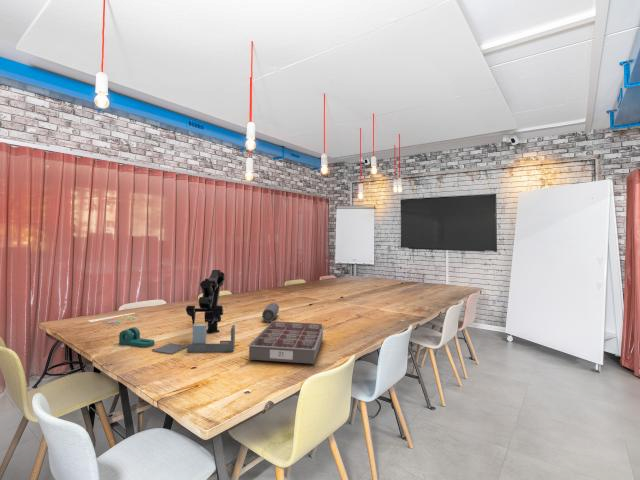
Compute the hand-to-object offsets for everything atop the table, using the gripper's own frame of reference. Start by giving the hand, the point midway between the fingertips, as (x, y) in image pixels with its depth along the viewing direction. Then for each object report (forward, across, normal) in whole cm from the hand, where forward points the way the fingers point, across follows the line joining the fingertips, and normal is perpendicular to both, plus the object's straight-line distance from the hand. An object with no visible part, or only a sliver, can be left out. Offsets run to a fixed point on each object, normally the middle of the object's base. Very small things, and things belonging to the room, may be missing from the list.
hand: (202, 324), depth 174 cm
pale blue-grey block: (+12, 0, +4) cm, 13 cm away
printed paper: (-31, -64, +49) cm, 86 cm away
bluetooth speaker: (-32, +34, +49) cm, 68 cm away
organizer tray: (+13, +46, +4) cm, 48 cm away
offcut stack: (+12, +13, +5) cm, 18 cm away
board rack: (+12, +6, +5) cm, 14 cm away
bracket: (+5, -34, +13) cm, 36 cm away
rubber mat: (+10, -15, +6) cm, 19 cm away
